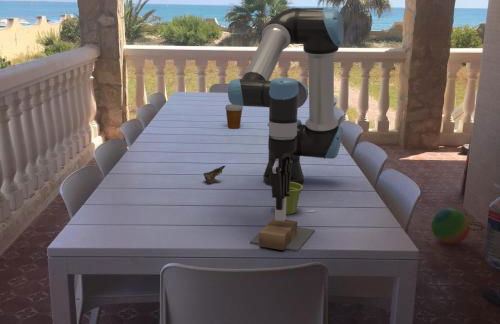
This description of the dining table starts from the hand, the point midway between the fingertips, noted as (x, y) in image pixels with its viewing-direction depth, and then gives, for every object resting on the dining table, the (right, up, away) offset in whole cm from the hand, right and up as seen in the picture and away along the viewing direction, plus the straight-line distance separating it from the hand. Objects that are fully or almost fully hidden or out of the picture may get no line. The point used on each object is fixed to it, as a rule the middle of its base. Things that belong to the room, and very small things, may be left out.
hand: (280, 219), depth 165 cm
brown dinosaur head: (-22, +8, +55) cm, 60 cm away
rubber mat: (+1, -5, +4) cm, 7 cm away
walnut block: (+2, -2, +5) cm, 6 cm away
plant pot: (+3, 0, +25) cm, 26 cm away
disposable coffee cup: (-17, +34, +152) cm, 157 cm away
